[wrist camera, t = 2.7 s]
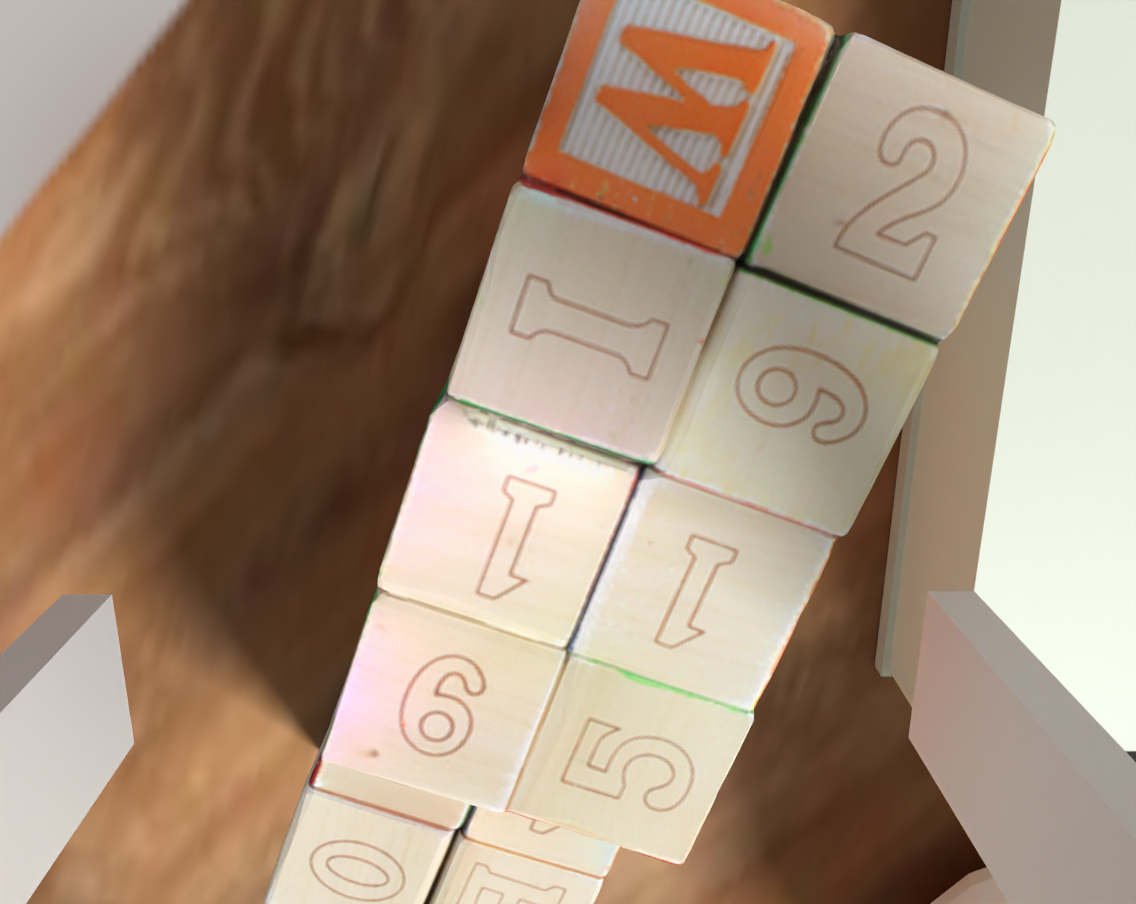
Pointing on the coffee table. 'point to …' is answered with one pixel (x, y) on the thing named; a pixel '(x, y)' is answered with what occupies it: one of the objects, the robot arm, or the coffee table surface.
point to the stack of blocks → (649, 444)
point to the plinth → (1038, 377)
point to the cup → (974, 890)
